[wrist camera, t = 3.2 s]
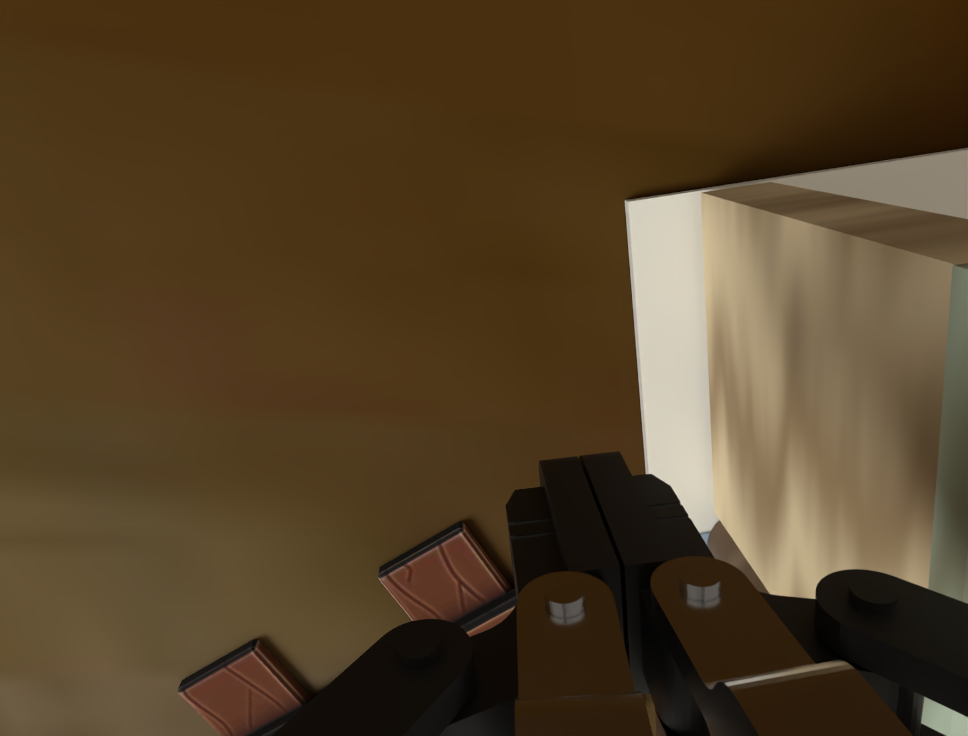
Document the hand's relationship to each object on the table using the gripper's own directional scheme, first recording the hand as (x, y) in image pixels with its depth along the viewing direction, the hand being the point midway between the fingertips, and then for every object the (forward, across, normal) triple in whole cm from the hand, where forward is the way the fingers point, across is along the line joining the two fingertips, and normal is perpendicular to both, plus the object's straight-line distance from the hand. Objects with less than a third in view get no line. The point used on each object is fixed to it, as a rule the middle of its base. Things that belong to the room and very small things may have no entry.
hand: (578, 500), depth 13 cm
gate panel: (+9, -6, +1) cm, 11 cm away
